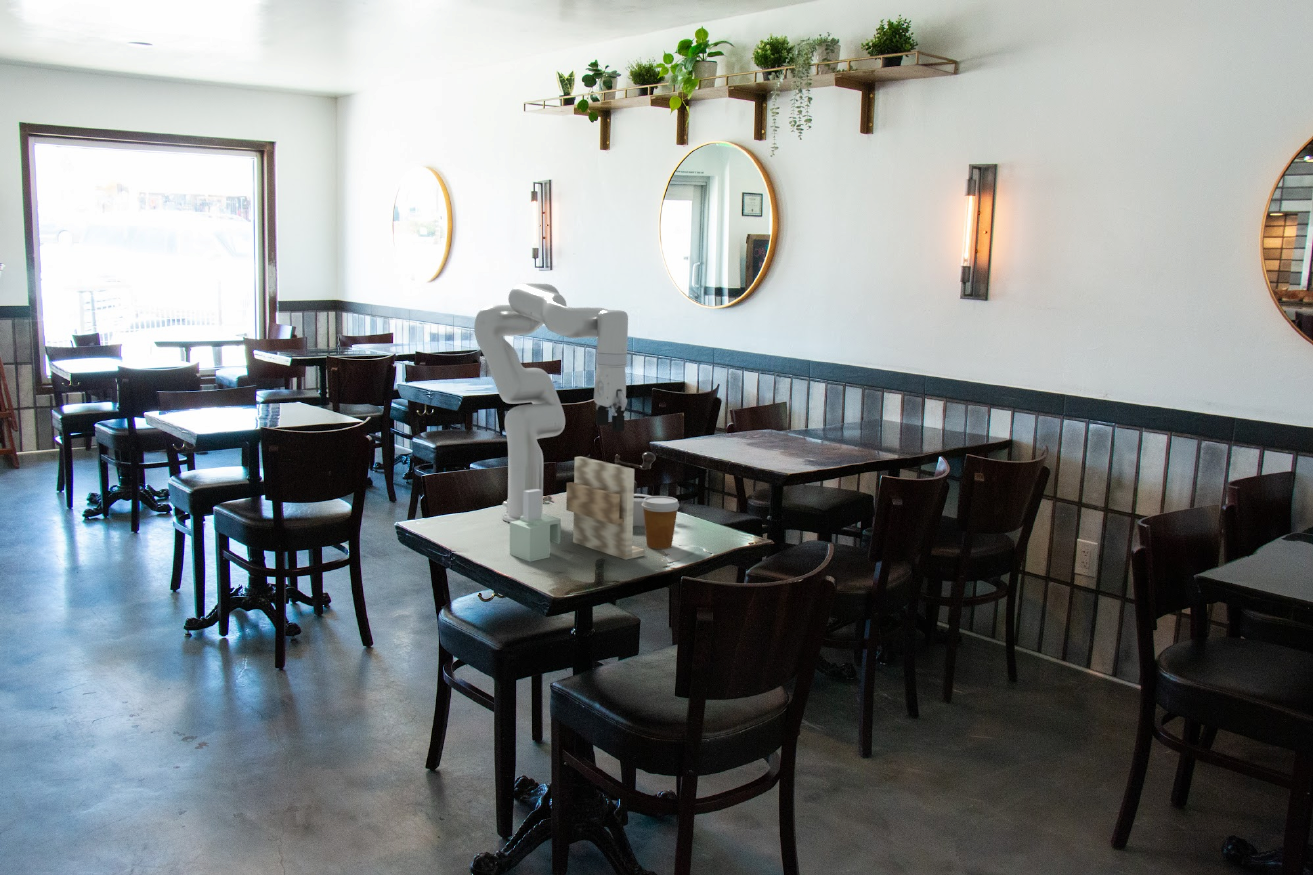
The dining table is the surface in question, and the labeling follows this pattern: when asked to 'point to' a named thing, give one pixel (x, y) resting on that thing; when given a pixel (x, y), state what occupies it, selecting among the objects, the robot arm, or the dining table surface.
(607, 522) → the wall board
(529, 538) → the mint green box
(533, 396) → the robot arm
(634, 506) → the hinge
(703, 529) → the dining table surface
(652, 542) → the disposable coffee cup
